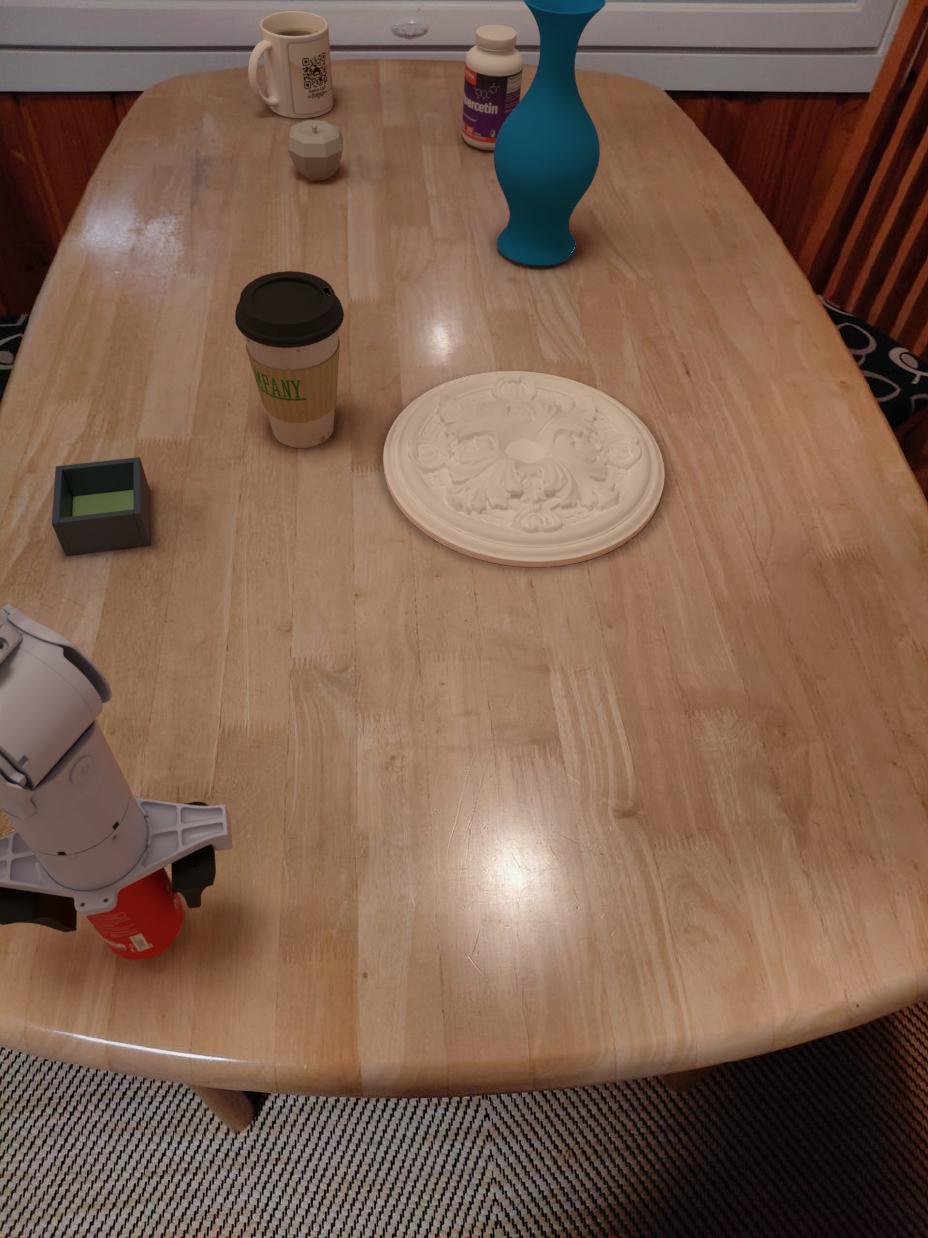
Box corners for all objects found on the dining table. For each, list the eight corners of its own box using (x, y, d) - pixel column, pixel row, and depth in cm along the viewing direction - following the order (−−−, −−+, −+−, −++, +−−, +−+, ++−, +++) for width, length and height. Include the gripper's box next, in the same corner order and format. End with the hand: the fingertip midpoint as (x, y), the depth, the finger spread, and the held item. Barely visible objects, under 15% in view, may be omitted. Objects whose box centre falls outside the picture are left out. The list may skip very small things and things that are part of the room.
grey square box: (65, 555, 83) (51, 523, 80) (68, 498, 88) (55, 465, 84) (150, 545, 84) (140, 512, 81) (149, 489, 89) (139, 456, 86)
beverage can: (92, 925, 63) (35, 848, 53) (158, 875, 65) (116, 792, 56) (134, 982, 60) (83, 912, 51) (201, 928, 63) (165, 851, 53)
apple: (333, 193, 126) (330, 143, 120) (279, 182, 127) (274, 132, 122) (355, 167, 130) (353, 118, 125) (303, 156, 132) (299, 107, 126)
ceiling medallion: (549, 616, 81) (553, 593, 79) (324, 466, 92) (322, 441, 89) (715, 459, 95) (723, 435, 92) (503, 344, 106) (505, 320, 103)
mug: (335, 120, 139) (330, 38, 131) (253, 121, 138) (243, 38, 129) (331, 90, 146) (326, 10, 137) (254, 91, 144) (243, 10, 136)
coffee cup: (247, 405, 97) (224, 274, 85) (339, 391, 99) (329, 261, 88) (263, 467, 91) (241, 335, 80) (361, 450, 93) (353, 320, 82)
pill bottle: (450, 141, 137) (454, 31, 125) (483, 123, 141) (489, 15, 129) (495, 159, 134) (502, 48, 122) (527, 140, 138) (537, 31, 127)
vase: (602, 262, 117) (645, 11, 96) (514, 283, 114) (538, 25, 92) (556, 217, 124) (586, -28, 102) (471, 234, 120) (484, -16, 99)
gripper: (-85, 904, 45) (9, 991, 56) (218, 849, 48) (253, 942, 58) (-67, 778, 50) (18, 881, 60) (210, 734, 52) (245, 840, 63)
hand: (134, 904), depth 60 cm, fingers open, 7 cm apart
